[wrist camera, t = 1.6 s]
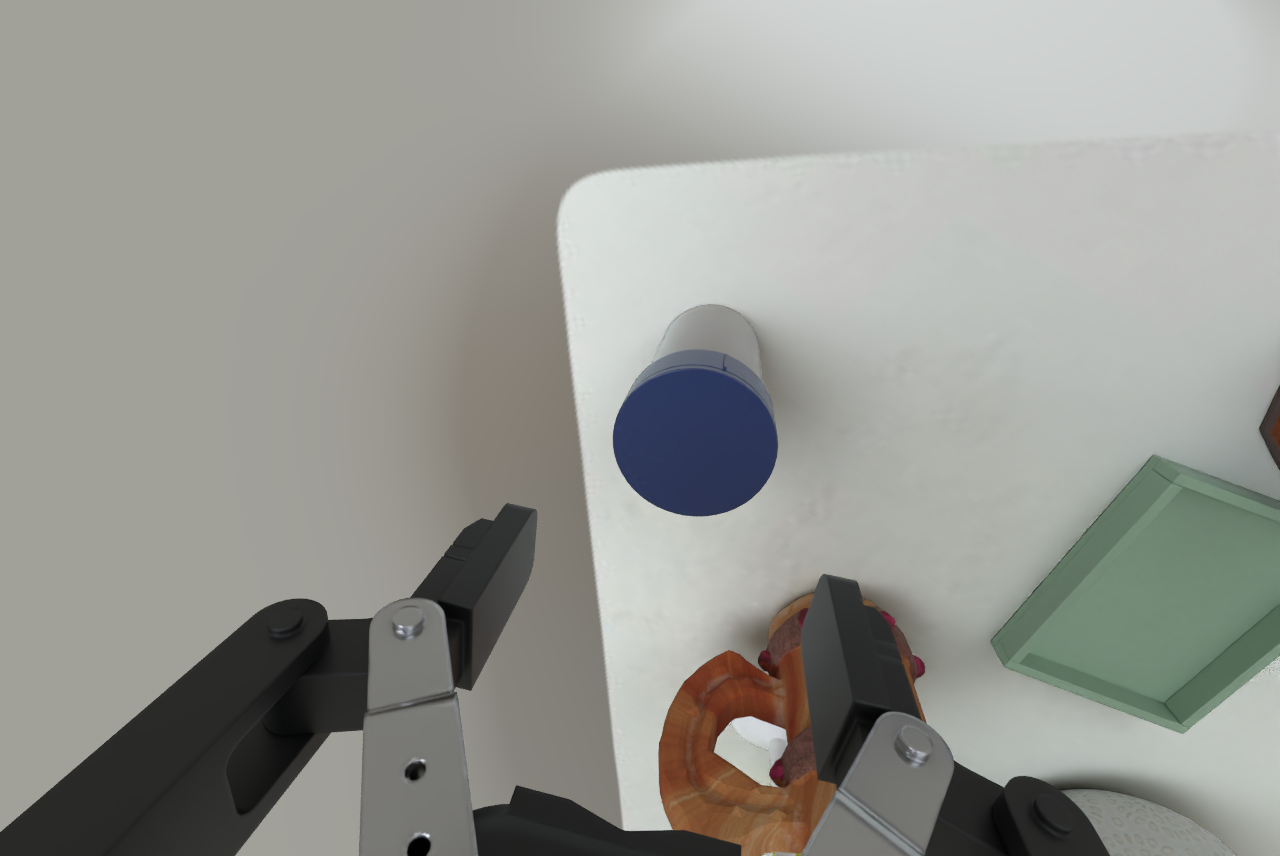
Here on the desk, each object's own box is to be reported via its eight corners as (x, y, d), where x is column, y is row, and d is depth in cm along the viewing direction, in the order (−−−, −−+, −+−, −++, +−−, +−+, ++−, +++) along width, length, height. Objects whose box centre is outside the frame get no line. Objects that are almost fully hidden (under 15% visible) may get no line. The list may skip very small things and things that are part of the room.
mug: (921, 579, 34) (1039, 850, 20) (900, 677, 37) (989, 966, 24) (679, 561, 36) (641, 792, 23) (680, 654, 39) (647, 905, 26)
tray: (1153, 454, 28) (1181, 473, 27) (1362, 531, 28) (1404, 556, 27) (989, 641, 35) (1003, 667, 33) (1160, 705, 35) (1183, 734, 33)
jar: (681, 290, 29) (649, 351, 19) (775, 324, 29) (792, 404, 19) (649, 378, 31) (606, 473, 21) (736, 410, 31) (734, 521, 21)
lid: (652, 324, 21) (642, 341, 18) (801, 379, 20) (808, 403, 18) (606, 456, 23) (593, 483, 21) (739, 505, 23) (738, 538, 21)
